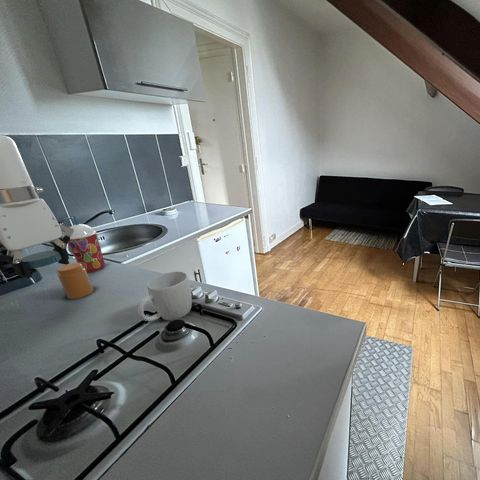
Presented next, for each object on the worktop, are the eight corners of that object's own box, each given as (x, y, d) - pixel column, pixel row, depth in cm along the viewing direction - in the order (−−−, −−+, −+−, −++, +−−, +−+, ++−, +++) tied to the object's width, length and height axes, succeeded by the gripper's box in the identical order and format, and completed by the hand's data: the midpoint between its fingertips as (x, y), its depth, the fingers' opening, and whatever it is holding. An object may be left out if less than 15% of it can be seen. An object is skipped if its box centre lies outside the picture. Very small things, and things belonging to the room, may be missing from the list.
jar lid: (47, 267, 59) (44, 260, 59) (14, 270, 58) (10, 263, 58) (68, 255, 66) (66, 249, 65) (38, 258, 64) (35, 251, 64)
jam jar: (63, 298, 77) (50, 270, 73) (85, 288, 82) (74, 261, 79) (76, 301, 75) (64, 272, 72) (98, 290, 80) (88, 263, 77)
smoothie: (106, 262, 100) (88, 212, 93) (110, 269, 95) (91, 216, 88) (78, 270, 95) (56, 217, 88) (80, 277, 89) (57, 221, 82)
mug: (182, 300, 74) (173, 268, 70) (202, 308, 70) (195, 275, 66) (134, 326, 64) (121, 291, 60) (155, 338, 59) (143, 301, 56)
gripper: (50, 189, 65) (77, 254, 71) (-61, 204, 50) (-15, 286, 56) (70, 189, 63) (95, 257, 69) (-41, 206, 47) (5, 290, 54)
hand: (46, 269), depth 63 cm, fingers closed on jar lid, 6 cm apart
